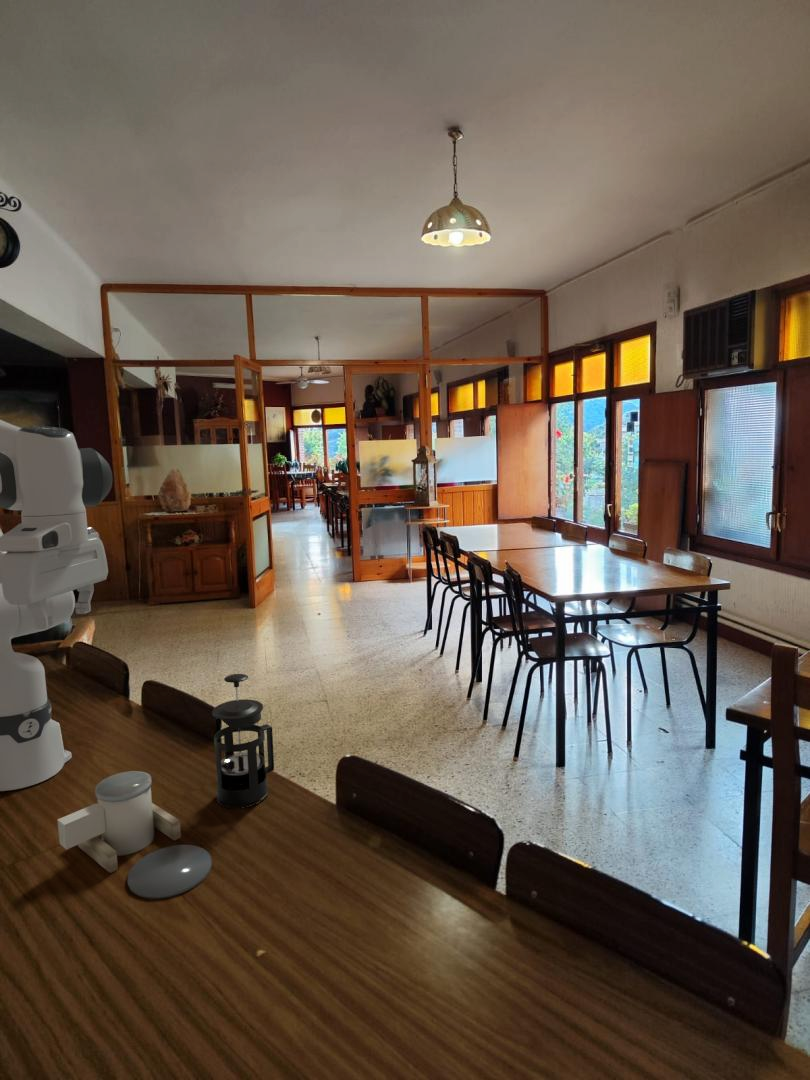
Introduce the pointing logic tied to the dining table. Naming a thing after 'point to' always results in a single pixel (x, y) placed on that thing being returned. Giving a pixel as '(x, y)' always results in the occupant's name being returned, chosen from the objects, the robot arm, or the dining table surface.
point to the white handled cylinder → (114, 815)
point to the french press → (241, 765)
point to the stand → (109, 856)
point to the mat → (169, 871)
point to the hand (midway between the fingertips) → (64, 620)
